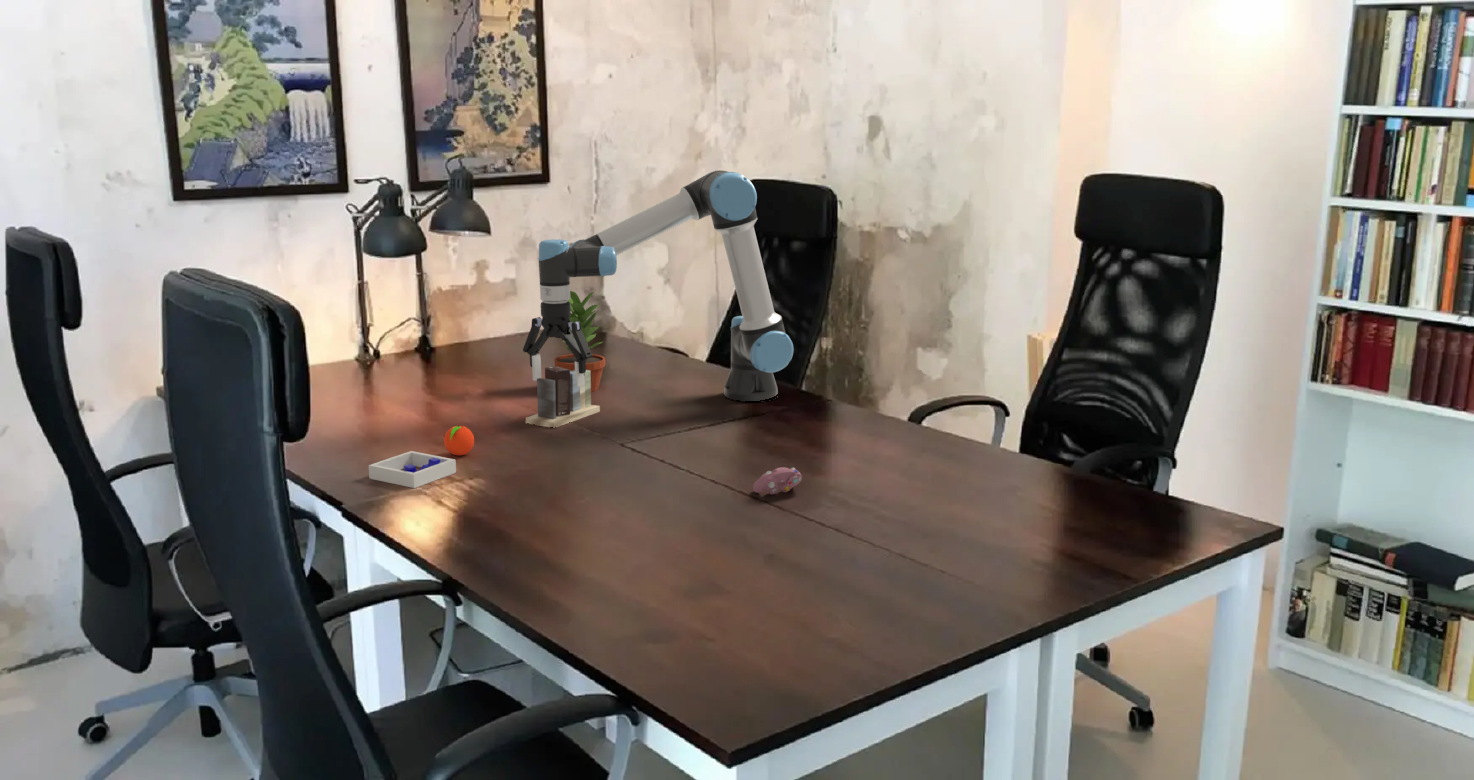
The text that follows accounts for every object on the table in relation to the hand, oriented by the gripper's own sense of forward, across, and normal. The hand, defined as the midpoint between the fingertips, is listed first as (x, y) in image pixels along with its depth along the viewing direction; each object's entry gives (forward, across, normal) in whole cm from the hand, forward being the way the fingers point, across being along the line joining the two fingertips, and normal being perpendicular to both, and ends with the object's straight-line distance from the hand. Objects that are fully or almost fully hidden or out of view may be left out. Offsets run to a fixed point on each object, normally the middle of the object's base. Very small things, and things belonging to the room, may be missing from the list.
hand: (558, 382), depth 309 cm
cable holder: (+10, +5, -57) cm, 58 cm away
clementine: (+10, 0, -39) cm, 40 cm away
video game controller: (+11, +76, -25) cm, 81 cm away
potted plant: (+10, -16, +31) cm, 36 cm away
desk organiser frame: (+9, +2, -56) cm, 57 cm away
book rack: (+10, 0, +2) cm, 10 cm away
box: (+8, 0, 0) cm, 8 cm away
